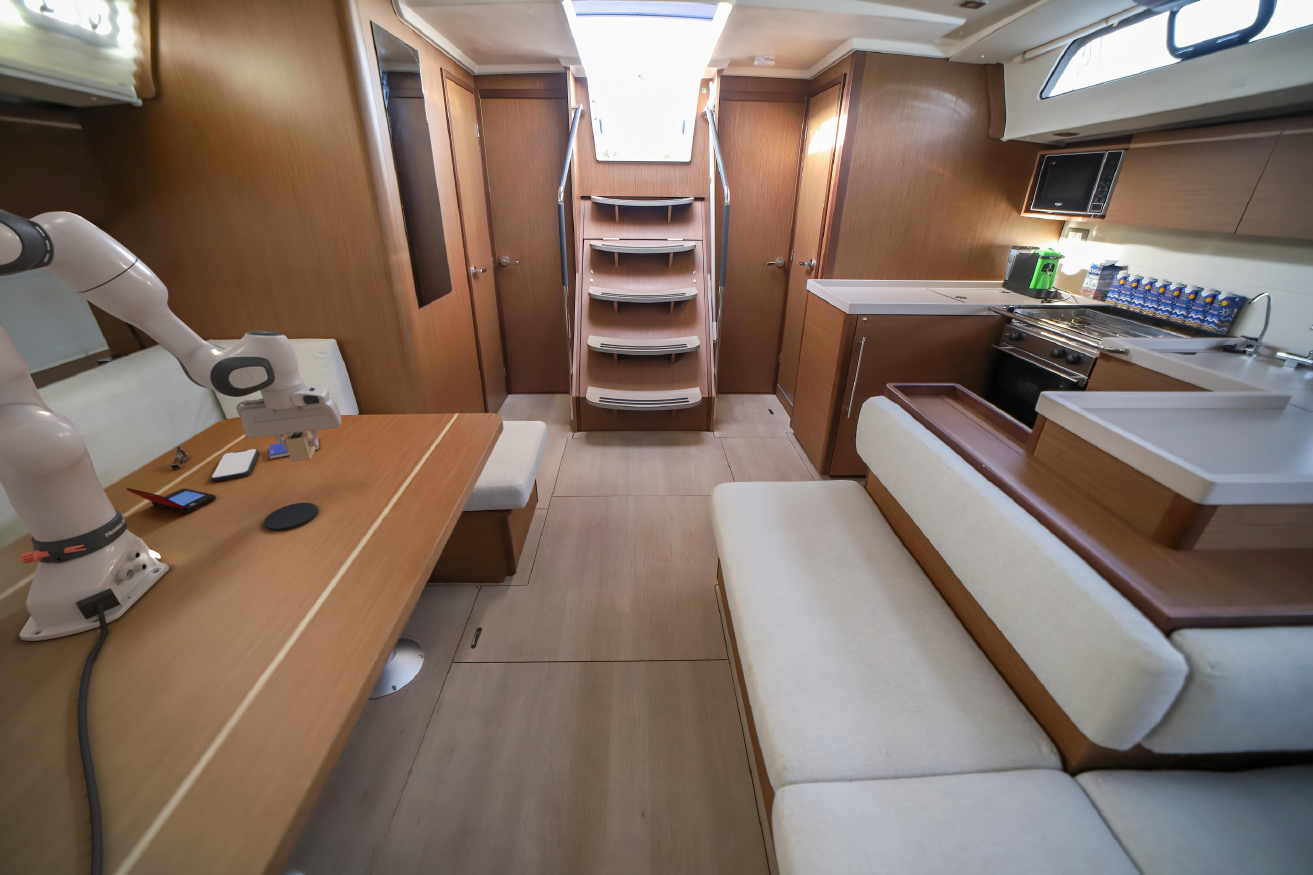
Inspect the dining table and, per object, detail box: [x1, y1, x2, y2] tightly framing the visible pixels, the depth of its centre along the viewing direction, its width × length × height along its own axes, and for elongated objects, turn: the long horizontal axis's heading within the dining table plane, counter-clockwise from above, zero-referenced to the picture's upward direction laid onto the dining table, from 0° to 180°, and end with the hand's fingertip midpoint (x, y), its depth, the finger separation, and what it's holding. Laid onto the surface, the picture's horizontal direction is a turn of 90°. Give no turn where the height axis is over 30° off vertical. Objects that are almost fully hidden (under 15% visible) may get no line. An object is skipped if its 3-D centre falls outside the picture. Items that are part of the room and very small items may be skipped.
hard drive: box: [268, 436, 319, 460], centre depth 155 cm, size 2×8×12 cm
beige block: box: [285, 431, 316, 463], centre depth 128 cm, size 4×8×6 cm, turn 22°
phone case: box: [210, 448, 260, 483], centre depth 145 cm, size 9×2×16 cm
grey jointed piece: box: [169, 444, 189, 470], centre depth 147 cm, size 2×8×4 cm, turn 22°
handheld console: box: [126, 487, 217, 514], centre depth 126 cm, size 12×11×7 cm
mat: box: [263, 502, 319, 532], centre depth 123 cm, size 11×11×1 cm
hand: (301, 447), depth 128 cm, fingers closed on beige block, 4 cm apart
